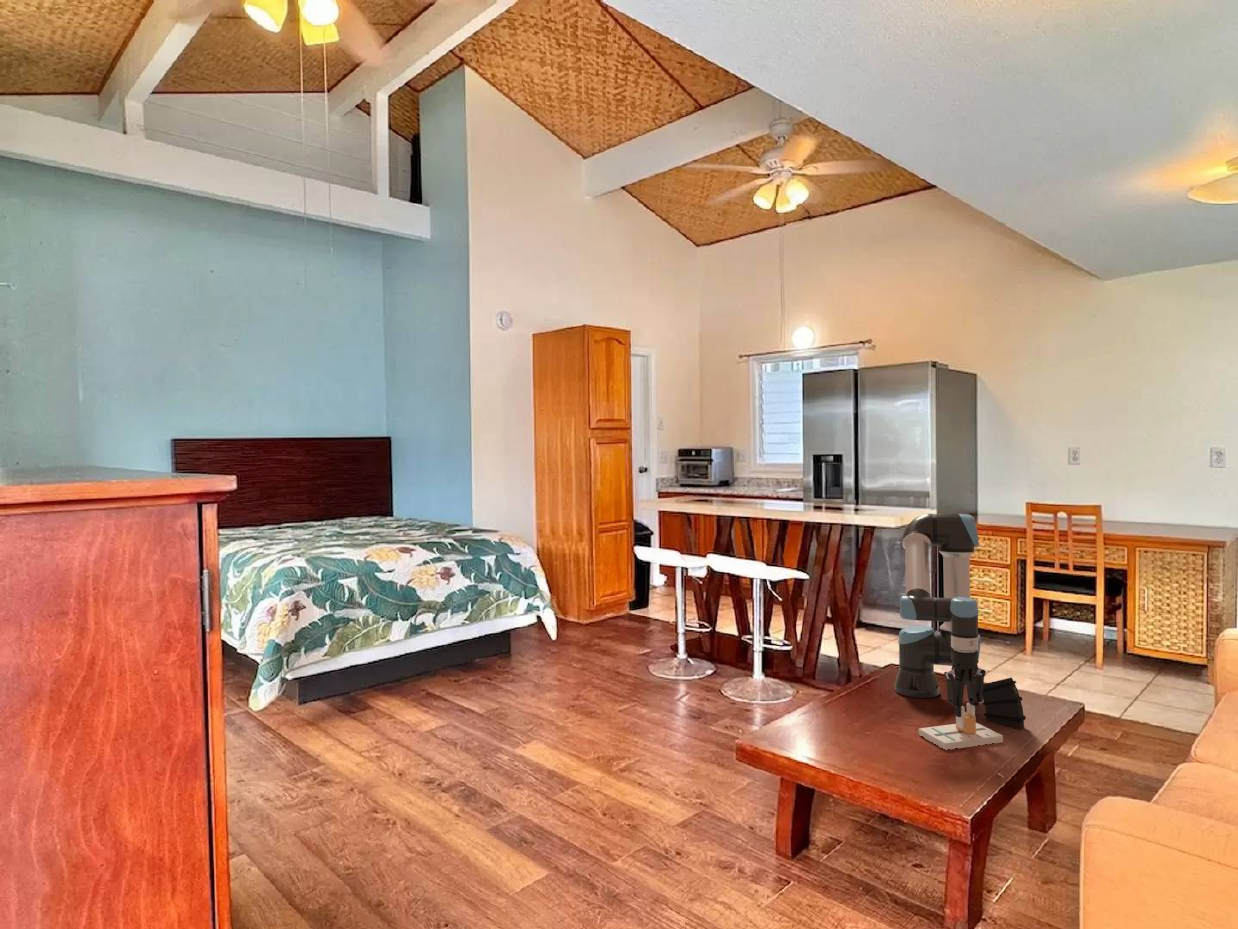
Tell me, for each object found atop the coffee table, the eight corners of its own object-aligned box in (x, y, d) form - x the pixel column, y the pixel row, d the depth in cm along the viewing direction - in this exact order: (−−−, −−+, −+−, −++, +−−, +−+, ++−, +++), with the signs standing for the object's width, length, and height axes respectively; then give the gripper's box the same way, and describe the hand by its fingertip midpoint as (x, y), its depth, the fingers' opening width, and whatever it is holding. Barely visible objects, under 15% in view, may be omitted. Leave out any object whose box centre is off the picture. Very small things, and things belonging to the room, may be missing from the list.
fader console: (918, 735, 223) (918, 728, 223) (974, 727, 228) (974, 721, 228) (945, 750, 212) (945, 743, 212) (1002, 742, 216) (1002, 735, 216)
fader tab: (955, 728, 223) (955, 712, 222) (964, 727, 223) (963, 711, 223) (967, 734, 217) (967, 718, 217) (976, 733, 218) (975, 716, 218)
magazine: (1030, 728, 223) (1008, 679, 228) (991, 735, 232) (970, 688, 237) (1036, 725, 225) (1013, 676, 230) (997, 732, 235) (976, 685, 240)
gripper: (950, 655, 214) (951, 734, 215) (996, 650, 218) (997, 727, 219) (933, 648, 222) (934, 725, 222) (978, 644, 226) (979, 719, 226)
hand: (965, 726), depth 220 cm, fingers closed on fader tab, 3 cm apart
